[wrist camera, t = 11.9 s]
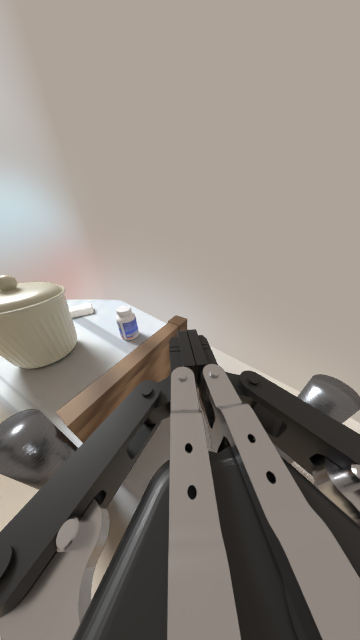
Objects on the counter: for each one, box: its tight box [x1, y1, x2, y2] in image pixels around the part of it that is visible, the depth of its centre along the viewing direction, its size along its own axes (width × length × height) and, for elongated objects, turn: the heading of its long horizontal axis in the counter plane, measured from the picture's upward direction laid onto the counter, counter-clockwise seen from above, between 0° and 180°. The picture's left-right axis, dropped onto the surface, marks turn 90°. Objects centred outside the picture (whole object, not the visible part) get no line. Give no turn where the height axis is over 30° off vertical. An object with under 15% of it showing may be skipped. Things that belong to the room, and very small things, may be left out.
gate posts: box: [0, 374, 360, 490], centre depth 15 cm, size 26×3×17 cm, turn 97°
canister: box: [0, 275, 77, 369], centre depth 34 cm, size 18×18×21 cm
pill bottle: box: [116, 306, 139, 340], centre depth 43 cm, size 5×5×10 cm
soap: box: [68, 303, 94, 318], centre depth 58 cm, size 9×6×3 cm, turn 121°
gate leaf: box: [56, 316, 187, 443], centre depth 22 cm, size 19×2×15 cm, turn 148°
